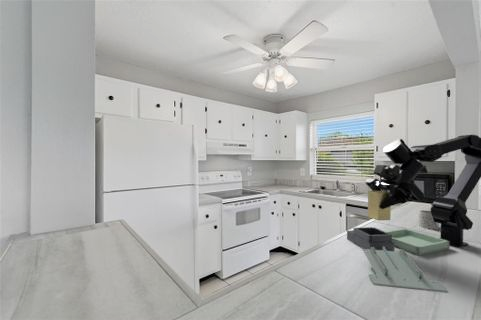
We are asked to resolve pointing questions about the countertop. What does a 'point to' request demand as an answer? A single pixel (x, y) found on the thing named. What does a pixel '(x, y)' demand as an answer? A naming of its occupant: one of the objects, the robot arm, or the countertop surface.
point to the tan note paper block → (378, 205)
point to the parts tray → (417, 242)
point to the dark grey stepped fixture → (371, 238)
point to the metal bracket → (399, 271)
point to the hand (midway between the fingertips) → (375, 206)
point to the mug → (427, 220)
